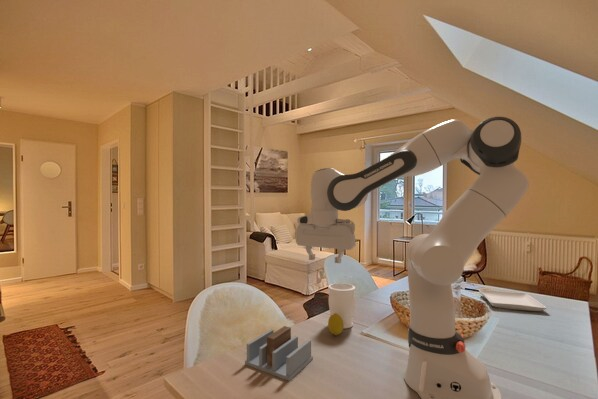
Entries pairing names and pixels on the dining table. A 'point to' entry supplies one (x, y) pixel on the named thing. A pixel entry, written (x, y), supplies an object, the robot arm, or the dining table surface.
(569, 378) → the dining table surface
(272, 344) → the board
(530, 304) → the salad plate
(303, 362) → the rack
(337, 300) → the jar
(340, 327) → the lemon
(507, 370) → the dining table surface
